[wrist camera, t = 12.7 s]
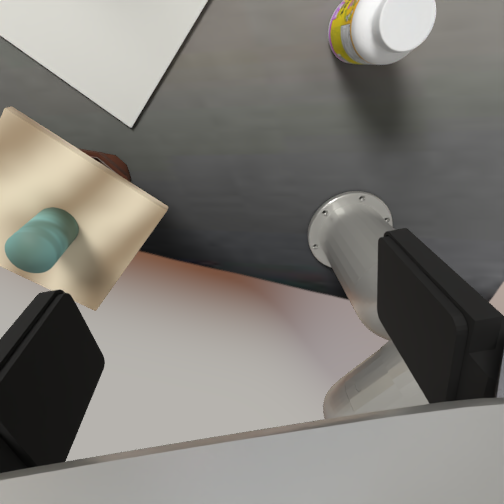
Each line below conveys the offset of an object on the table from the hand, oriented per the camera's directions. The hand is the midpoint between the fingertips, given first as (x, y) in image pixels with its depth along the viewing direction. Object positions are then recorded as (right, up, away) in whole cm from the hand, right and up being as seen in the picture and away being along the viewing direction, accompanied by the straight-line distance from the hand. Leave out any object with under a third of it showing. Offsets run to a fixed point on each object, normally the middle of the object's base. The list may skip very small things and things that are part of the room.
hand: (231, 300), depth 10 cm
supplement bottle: (+12, +27, +28) cm, 41 cm away
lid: (-17, +4, +21) cm, 27 cm away
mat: (-15, +27, +25) cm, 40 cm away
